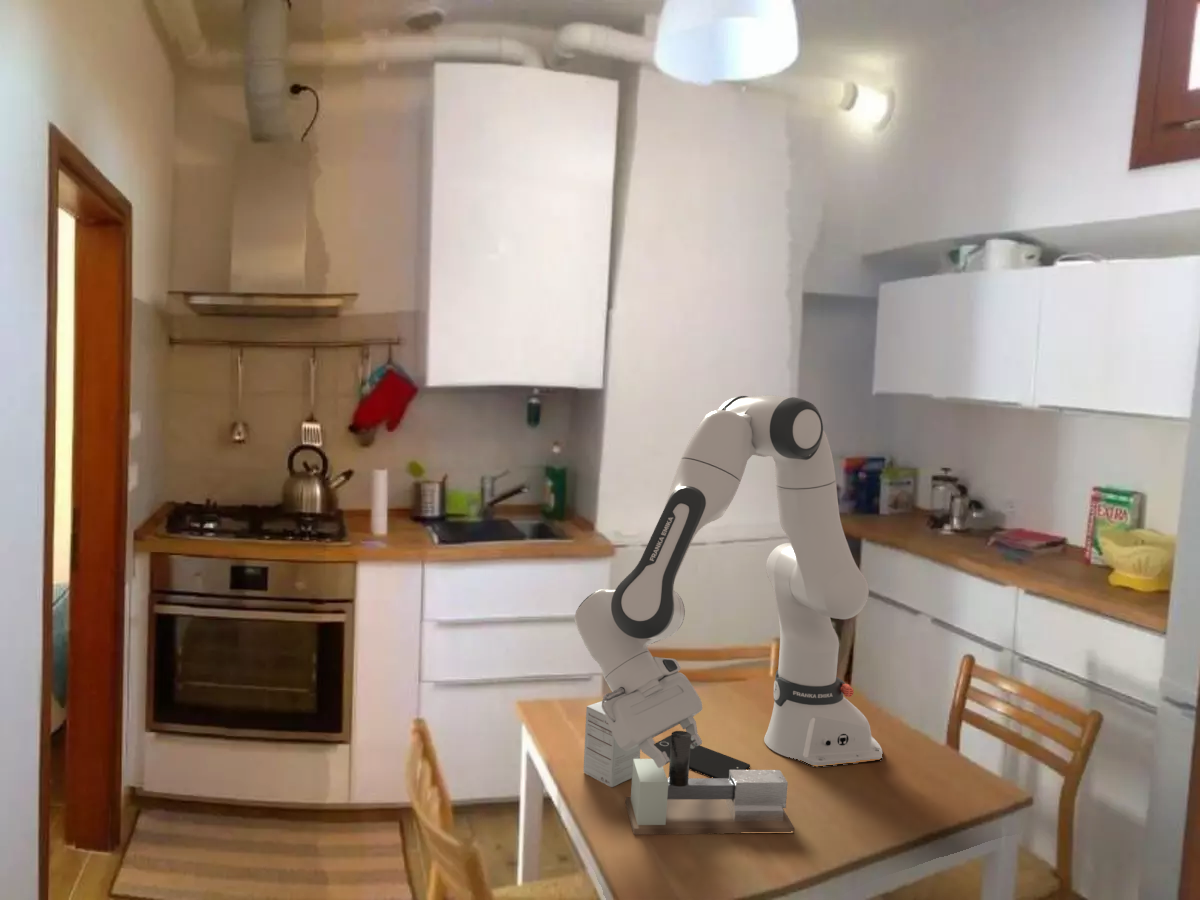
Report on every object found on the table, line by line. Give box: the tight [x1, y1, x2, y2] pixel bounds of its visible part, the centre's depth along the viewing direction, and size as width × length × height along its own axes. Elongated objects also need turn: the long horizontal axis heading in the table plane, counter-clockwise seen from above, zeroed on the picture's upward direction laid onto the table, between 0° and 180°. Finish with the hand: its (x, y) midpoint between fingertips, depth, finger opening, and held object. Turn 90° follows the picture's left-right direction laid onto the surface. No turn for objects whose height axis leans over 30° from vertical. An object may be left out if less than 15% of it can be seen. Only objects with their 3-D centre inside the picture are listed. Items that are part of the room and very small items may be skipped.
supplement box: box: [583, 700, 641, 788], centre depth 164 cm, size 7×7×13 cm
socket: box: [630, 758, 668, 825], centre depth 150 cm, size 4×8×7 cm, turn 6°
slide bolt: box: [667, 730, 735, 799], centre depth 150 cm, size 15×3×10 cm, turn 96°
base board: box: [625, 796, 795, 835], centre depth 151 cm, size 26×10×1 cm, turn 96°
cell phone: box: [653, 735, 751, 778], centre depth 172 cm, size 9×18×1 cm, turn 51°
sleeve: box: [726, 769, 789, 821], centre depth 152 cm, size 9×6×6 cm
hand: (681, 755), depth 149 cm, fingers open, 8 cm apart
